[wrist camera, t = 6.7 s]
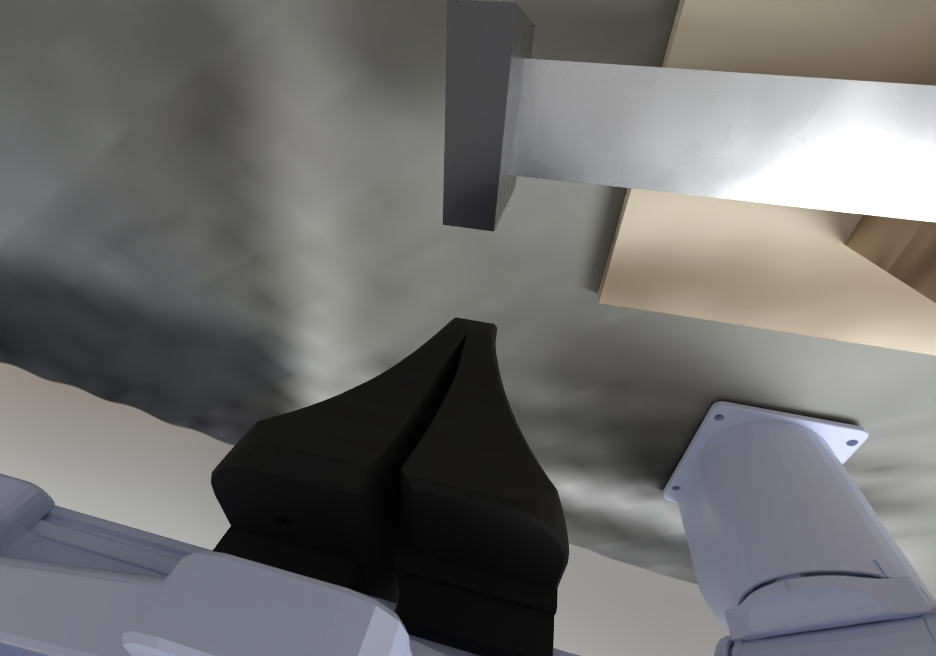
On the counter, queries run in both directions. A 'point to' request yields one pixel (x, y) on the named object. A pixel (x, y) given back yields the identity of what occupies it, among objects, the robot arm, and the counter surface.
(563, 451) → the counter surface
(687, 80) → the shaft
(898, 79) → the stand
